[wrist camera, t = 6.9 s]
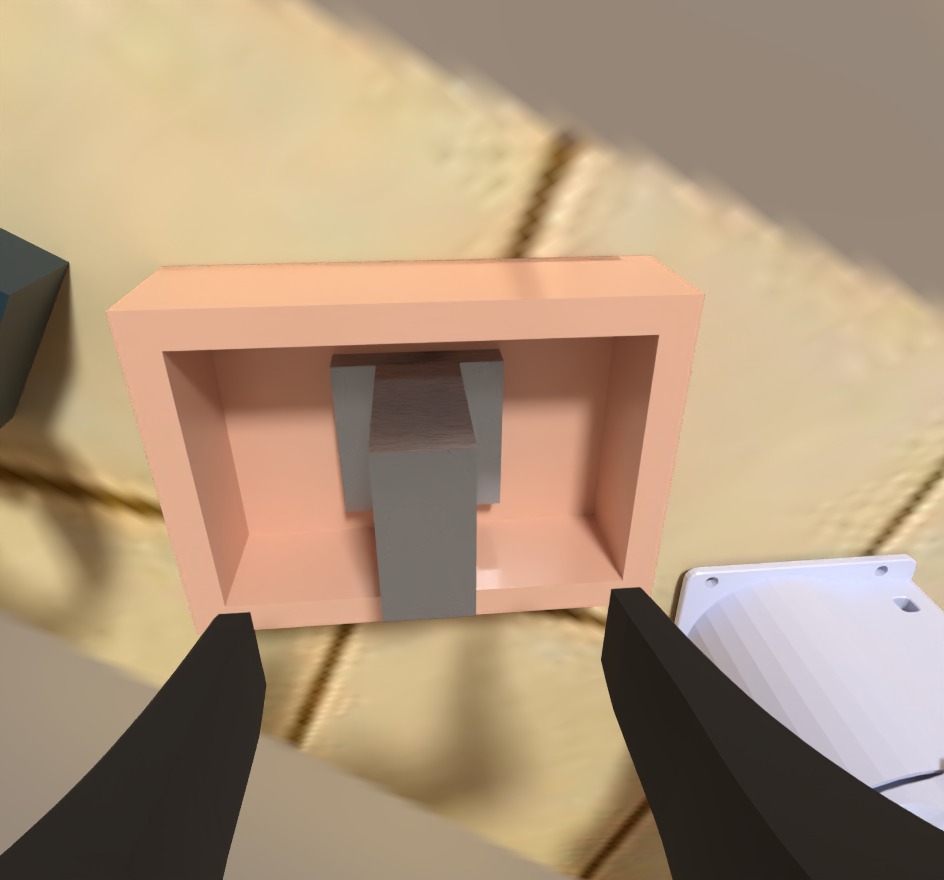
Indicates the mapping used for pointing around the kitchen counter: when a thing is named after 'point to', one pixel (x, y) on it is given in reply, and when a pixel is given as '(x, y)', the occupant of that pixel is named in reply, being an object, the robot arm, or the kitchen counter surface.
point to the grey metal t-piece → (421, 468)
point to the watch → (23, 311)
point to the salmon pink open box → (315, 435)
